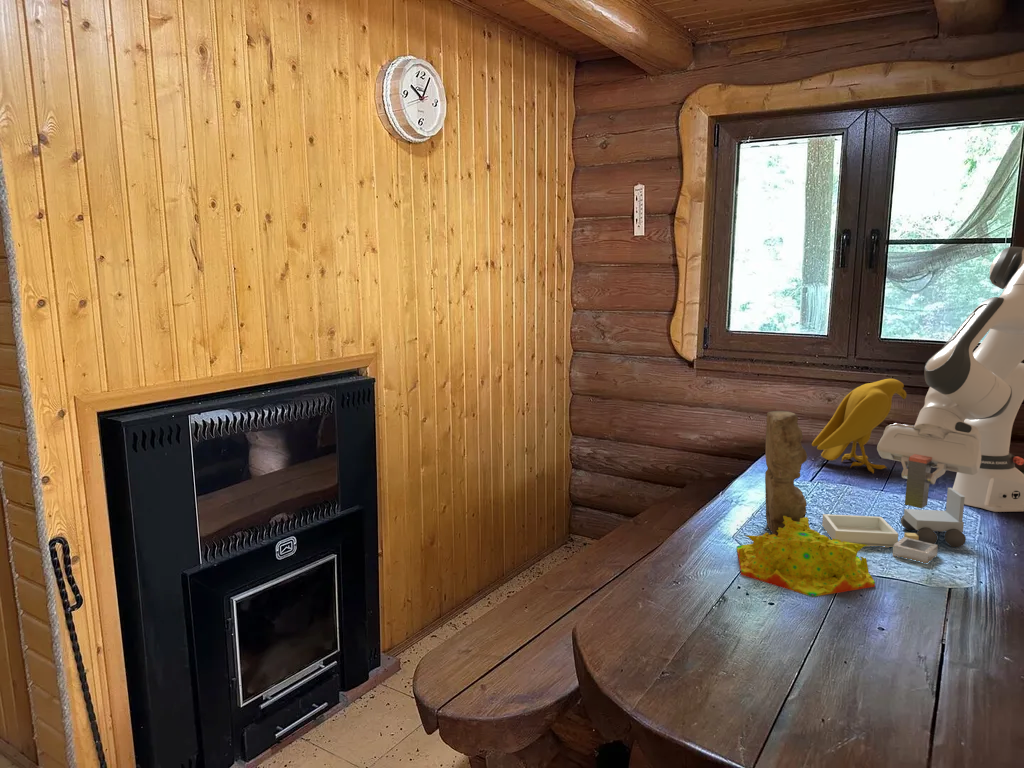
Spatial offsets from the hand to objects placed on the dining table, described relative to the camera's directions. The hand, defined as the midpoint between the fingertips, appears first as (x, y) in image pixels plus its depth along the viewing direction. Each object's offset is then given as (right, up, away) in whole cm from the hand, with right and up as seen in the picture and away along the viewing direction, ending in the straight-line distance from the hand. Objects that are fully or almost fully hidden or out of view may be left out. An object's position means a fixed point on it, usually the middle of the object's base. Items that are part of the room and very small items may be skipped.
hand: (917, 479), depth 155 cm
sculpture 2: (+24, -6, +76) cm, 80 cm away
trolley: (+11, -16, +13) cm, 23 cm away
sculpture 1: (-23, -15, +18) cm, 33 cm away
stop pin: (0, -6, +1) cm, 6 cm away
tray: (-6, -16, +14) cm, 22 cm away
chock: (+4, -16, +9) cm, 19 cm away
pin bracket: (+1, -17, +3) cm, 18 cm away
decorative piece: (-27, -19, -2) cm, 33 cm away
